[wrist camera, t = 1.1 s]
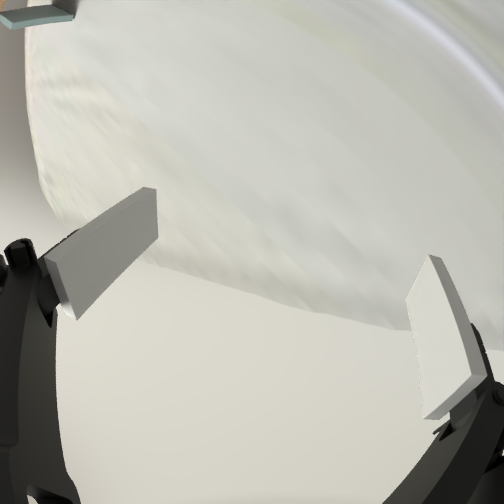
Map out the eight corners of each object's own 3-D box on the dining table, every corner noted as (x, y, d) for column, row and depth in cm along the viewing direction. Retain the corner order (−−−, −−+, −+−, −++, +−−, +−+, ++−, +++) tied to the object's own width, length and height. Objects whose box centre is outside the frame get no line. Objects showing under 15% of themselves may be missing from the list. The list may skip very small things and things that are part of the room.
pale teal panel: (51, 3, 31) (-2, 11, 20) (74, 14, 32) (12, 21, 21) (48, 10, 32) (-4, 19, 21) (71, 22, 33) (10, 31, 22)
